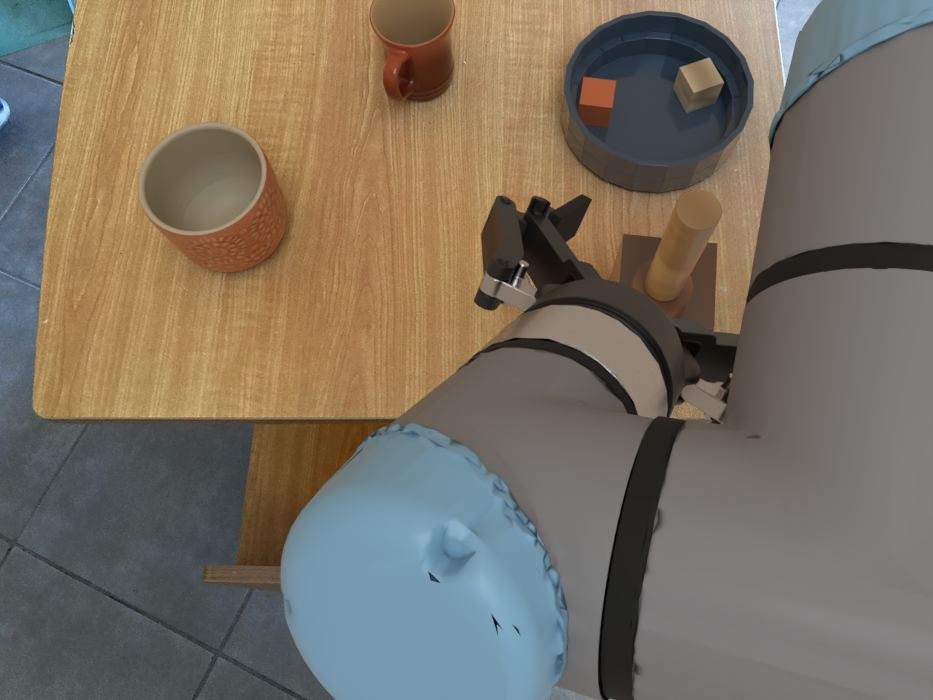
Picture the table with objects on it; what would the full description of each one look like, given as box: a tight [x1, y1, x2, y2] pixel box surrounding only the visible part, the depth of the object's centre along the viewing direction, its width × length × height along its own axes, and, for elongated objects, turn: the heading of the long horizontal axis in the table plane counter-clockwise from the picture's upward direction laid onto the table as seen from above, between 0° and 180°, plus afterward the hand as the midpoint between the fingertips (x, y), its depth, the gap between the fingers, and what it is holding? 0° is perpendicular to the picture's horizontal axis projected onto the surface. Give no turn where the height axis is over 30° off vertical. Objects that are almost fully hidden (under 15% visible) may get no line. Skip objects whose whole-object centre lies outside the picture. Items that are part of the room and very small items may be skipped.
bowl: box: [560, 10, 755, 194], centre depth 81 cm, size 19×19×6 cm
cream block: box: [673, 57, 724, 113], centre depth 82 cm, size 4×4×4 cm
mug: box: [368, 0, 456, 102], centre depth 82 cm, size 12×9×10 cm
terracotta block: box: [578, 77, 616, 128], centre depth 82 cm, size 4×4×4 cm
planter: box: [137, 121, 288, 273], centre depth 76 cm, size 12×12×11 cm
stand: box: [608, 233, 718, 331], centre depth 70 cm, size 8×8×12 cm
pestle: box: [630, 189, 723, 319], centre depth 57 cm, size 5×5×15 cm
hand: (672, 263), depth 49 cm, fingers open, 13 cm apart
